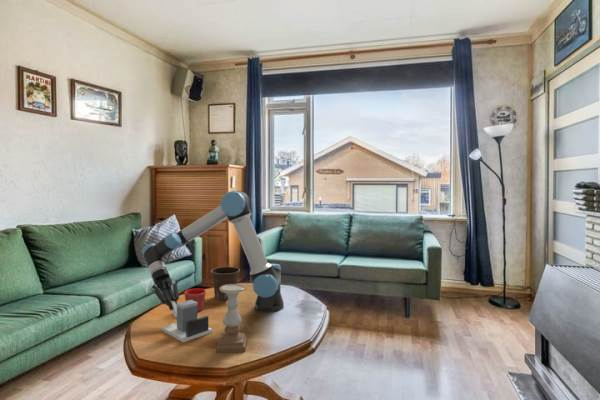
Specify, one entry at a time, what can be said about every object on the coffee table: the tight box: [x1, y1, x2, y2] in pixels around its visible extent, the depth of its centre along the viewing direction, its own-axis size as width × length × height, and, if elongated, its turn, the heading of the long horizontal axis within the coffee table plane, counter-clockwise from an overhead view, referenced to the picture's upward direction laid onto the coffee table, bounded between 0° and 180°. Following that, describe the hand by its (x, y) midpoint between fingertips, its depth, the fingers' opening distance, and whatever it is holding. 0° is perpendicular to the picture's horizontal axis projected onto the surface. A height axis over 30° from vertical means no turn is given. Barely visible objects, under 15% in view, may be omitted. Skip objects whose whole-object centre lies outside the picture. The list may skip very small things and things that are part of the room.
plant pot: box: [210, 266, 241, 302], centre depth 204 cm, size 16×16×16 cm
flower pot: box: [184, 288, 207, 313], centre depth 184 cm, size 11×11×10 cm
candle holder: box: [216, 283, 248, 354], centre depth 142 cm, size 11×11×24 cm
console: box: [161, 315, 213, 343], centre depth 157 cm, size 18×14×8 cm
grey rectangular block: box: [176, 300, 198, 331], centre depth 157 cm, size 5×7×11 cm
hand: (177, 314), depth 162 cm, fingers closed
